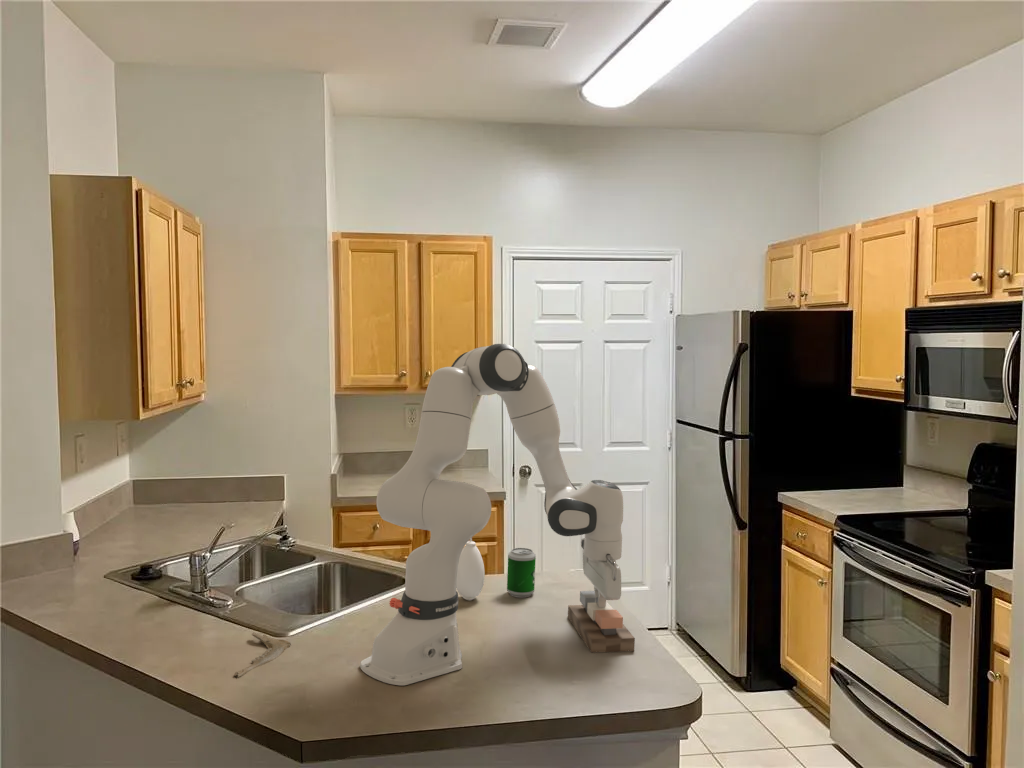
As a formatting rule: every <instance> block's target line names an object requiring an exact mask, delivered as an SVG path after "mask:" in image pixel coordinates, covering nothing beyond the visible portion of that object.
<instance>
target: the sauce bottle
mask: <svg viewBox="0 0 1024 768" xmlns="http://www.w3.org/2000/svg"><path fill="white" fill-rule="evenodd" d="M485 575H486V574H485V565H484V559H483V557H482V554H481V551H480V550H479V548H478V546H477V544H476V542H475V541H473V537H472V538H470V539H469V541H468V542H467V543H466V545H465V546H464V548H463V550H462V552H461V554H460V558H459V562H458V571H457V585H456V591H457V592H458V595H460V596H461V597H462V599H464V600H466V601H472V600H475V599H476V598H477V597H478V596H479V595H480V594H481V591H482V589H483V587H484V584H485Z"/></svg>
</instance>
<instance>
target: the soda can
mask: <svg viewBox="0 0 1024 768" xmlns="http://www.w3.org/2000/svg"><path fill="white" fill-rule="evenodd" d="M536 557H537V556H536V553H535V552H534V550H533V549H531V548H526V547H515V548H512V549H511V551H509V552H508V553H507V573H506V574H507V575H506V576H507V577H506V578H507V579H506V591H507V593H509V595H510V596H511V597H513V598H529V597H531V596H532V594H534V593H535V585H536V584H535V583H536V581H535V580H536V559H537V558H536Z"/></svg>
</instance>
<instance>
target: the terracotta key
mask: <svg viewBox="0 0 1024 768" xmlns="http://www.w3.org/2000/svg"><path fill="white" fill-rule="evenodd" d="M595 621H596V622H597V624H598V625H599V626H600V628H601V633H602V634H603V635H616V628H623V625H624V617H623V615H622V614H621V613H620V612H619V611H618V610H617V609H614V610H596V614H595Z"/></svg>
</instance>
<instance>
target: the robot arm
mask: <svg viewBox="0 0 1024 768" xmlns="http://www.w3.org/2000/svg"><path fill="white" fill-rule="evenodd" d="M495 394H496V395H498V396H499V397H500V398H501V399H502V400H503V402H504V404H505V407H506V410H507V414H508V418H509V419H510V422H511V425H512V427H513V430H514V432H515V434H516V435H517V437H518V439H519V441H520V443H521V444H522V445H523V447H525V448H526V449H527V450H528V451H529V452H530V453H531V454H532V457H533V458H534V460H535V462H536V464H537V465H536V466H537V468H538V471H539V474H540V476H541V480H542V482H543V485H544V490H545V495H544V501H543V503H544V505H543V506H544V511H545V514H546V517H547V522H548V525H549V526H550V529H552V531H553V532H554V533H556V534H557V535H560V536H562V537H576V536H582V535H584V538H581V540H580V546H581V549H582V570H583V574H584V576H585V577H586V578H587V579H588V580H589V582H590V583H591V584H592V585H593V591H594V592H595V603H596V604H597V605H598V607H599V608H605V607H606V602H607V601H619V600H620V599H621V596H622V572H621V568H620V566H619V565H618V564H617V561H618V560H620V559H621V558H622V552H623V551H622V548H623V546H622V545H623V534H622V524H623V521H624V498H623V496H624V495H623V493H622V490H621V489H620V487H619V486H618V485H616V484H615V483H613V482H610V481H607V480H601V479H594V480H590V482H589V483H587V484H586V485H583V486H582V487H579V488H577V487H575V485H574V484H573V483H572V481H570V477H569V475H568V473H567V470H566V467H565V464H564V461H563V458H562V455H561V452H560V451H561V450H560V436H561V426H560V425H561V424H560V419H559V414H558V411H557V407H556V403H555V402H554V399H553V395H552V394H551V391H550V389H549V387H548V384H547V382H546V380H545V378H544V376H543V375H542V373H541V371H540V370H539V368H538V367H536V366H534V365H532V364H528V363H527V362H526V360H525V359H524V357H523V355H522V354H521V352H519V350H517V348H515V347H514V346H512V345H510V344H507V343H494V344H492V345H491V344H490V345H487V346H479V347H476V348H473V349H471V350H469V351H467V352H464V353H462V354H460V355H459V356H458V357H457V358H456V359H455V360H454V362H452V364H451V366H445V367H441V368H437V370H435V371H434V372H433V373H432V375H431V376H430V379H429V381H428V385H427V388H426V391H425V395H424V399H423V403H422V408H421V413H420V421H419V425H418V431H417V436H416V440H415V444H414V446H413V450H412V452H411V454H410V456H409V458H408V460H407V461H406V463H405V464H404V465H403V466H402V467H401V468H400V469H399V470H398V471H397V472H396V473H395V474H393V475H392V476H390V477H389V478H387V479H386V480H384V482H383V483H382V484H381V486H380V488H379V489H378V491H377V495H376V499H375V501H376V502H375V503H376V508H377V512H378V514H379V516H380V518H381V520H383V521H385V522H388V523H390V524H393V525H396V526H399V527H401V528H409V529H417V530H424V531H428V532H430V539H429V542H428V543H426V544H423V545H421V546H419V547H417V548H415V549H414V550H412V551H411V552H410V553H409V554H408V556H407V558H406V562H405V583H404V584H405V585H404V587H405V588H404V589H405V590H404V592H403V593H402V595H401V599H399V598H396V597H391V598H390V600H389V607H390V608H394V609H396V610H397V613H396V614H395V615H394V616H393V617H392V619H391V620H390V621H389V622H388V623H387V624H386V625H385V627H383V629H382V630H381V631H380V632H378V634H377V635H376V636H375V638H374V640H373V644H372V648H371V650H372V651H371V655H370V656H368V657H366V658H364V659H362V660H361V661H360V663H359V668H360V669H361V670H362V672H363V673H365V674H366V675H367V676H369V677H370V678H373V679H375V680H378V681H380V682H383V683H385V684H390V685H394V686H395V685H396V686H407V685H411V684H414V683H418V682H421V681H424V680H428V679H431V678H434V677H438V676H441V675H445V674H448V673H451V672H455V671H458V670H461V669H462V668H463V662H462V658H463V657H462V656H463V654H462V650H461V645H460V640H459V639H460V637H459V629H458V621H457V620H458V619H457V611H458V610H459V592H458V590H457V588H456V585H457V571H458V562H459V558H460V554H461V552H462V550H463V548H464V547H465V546H466V543H467V542H468V541H470V538H472V539H473V537H474V536H475V535H476V534H478V533H480V532H481V531H482V530H483V529H484V528H485V527H486V526H487V524H488V523H489V521H490V518H491V515H492V502H491V498H490V496H489V494H488V493H487V491H486V490H485V489H484V488H483V487H480V486H477V485H474V484H471V483H468V482H465V481H456V480H446V479H439V477H440V476H441V473H442V472H443V470H444V469H445V468H446V467H447V466H450V465H451V464H454V463H457V462H458V461H460V460H461V459H462V458H463V457H464V456H465V454H466V453H467V450H468V445H469V437H470V431H471V430H470V429H471V422H472V414H473V406H474V403H475V400H476V398H477V397H480V396H492V395H495Z"/></svg>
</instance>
